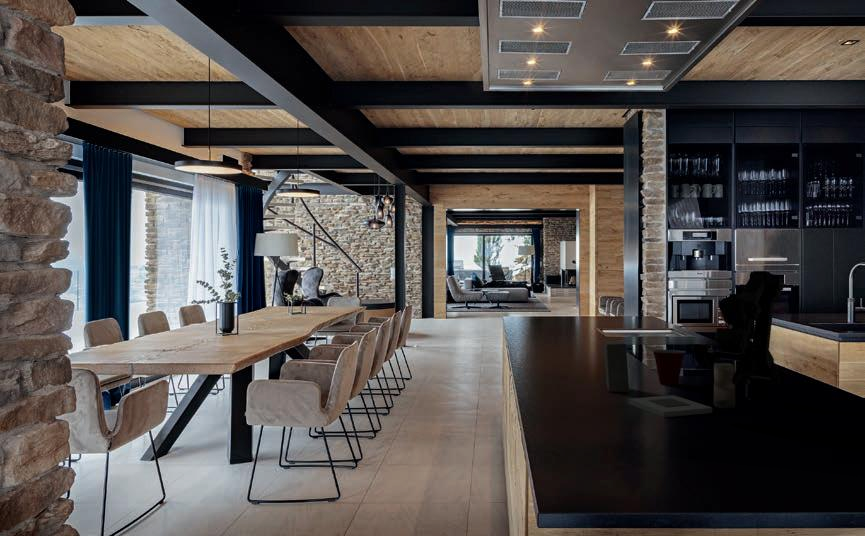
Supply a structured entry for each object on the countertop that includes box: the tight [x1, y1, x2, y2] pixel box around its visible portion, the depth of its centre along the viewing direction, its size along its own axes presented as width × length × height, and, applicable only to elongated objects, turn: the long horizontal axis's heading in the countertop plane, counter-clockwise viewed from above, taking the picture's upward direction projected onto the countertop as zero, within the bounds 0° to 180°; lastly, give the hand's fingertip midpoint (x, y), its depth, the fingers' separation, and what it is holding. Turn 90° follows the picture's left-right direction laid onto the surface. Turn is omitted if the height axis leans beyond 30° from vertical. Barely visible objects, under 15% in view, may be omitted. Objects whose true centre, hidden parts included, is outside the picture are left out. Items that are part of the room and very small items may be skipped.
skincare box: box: [604, 341, 630, 393], centre depth 194 cm, size 8×7×16 cm
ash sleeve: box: [713, 362, 736, 409], centre depth 155 cm, size 5×5×11 cm
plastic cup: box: [651, 349, 687, 387], centre depth 203 cm, size 11×11×12 cm
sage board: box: [627, 394, 713, 418], centre depth 170 cm, size 16×16×2 cm
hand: (722, 381), depth 154 cm, fingers closed on ash sleeve, 5 cm apart
